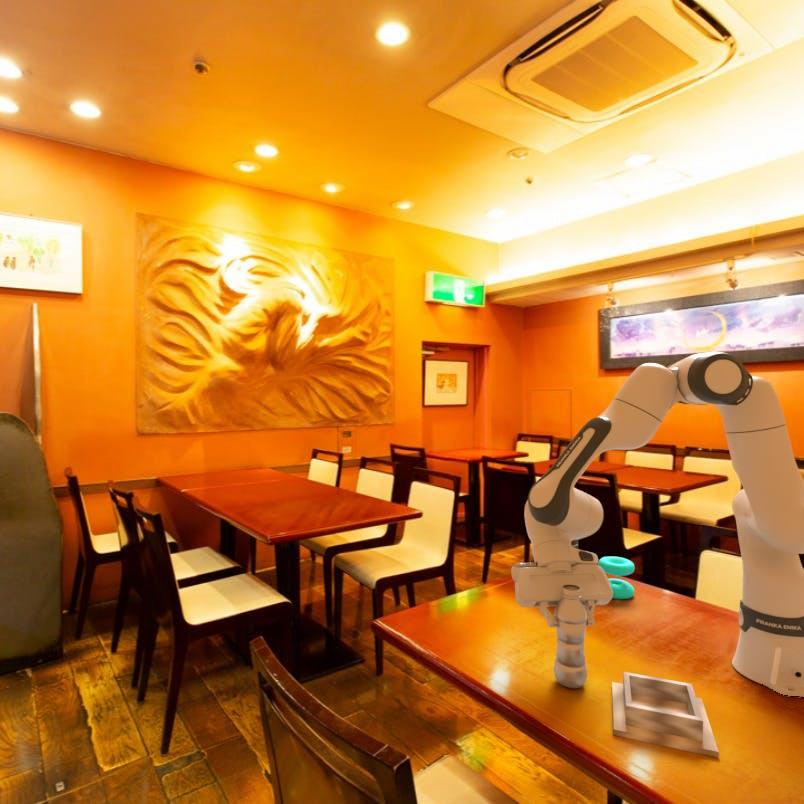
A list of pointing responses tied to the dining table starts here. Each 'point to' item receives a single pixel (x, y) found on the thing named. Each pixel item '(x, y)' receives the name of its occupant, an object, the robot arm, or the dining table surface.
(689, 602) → the dining table surface
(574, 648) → the plastic bottle
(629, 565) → the donuts
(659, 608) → the dining table surface
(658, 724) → the bottle holder
